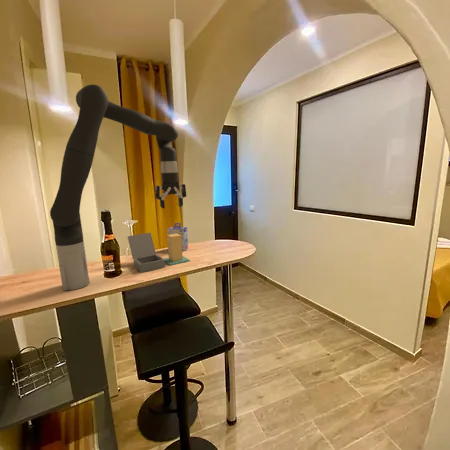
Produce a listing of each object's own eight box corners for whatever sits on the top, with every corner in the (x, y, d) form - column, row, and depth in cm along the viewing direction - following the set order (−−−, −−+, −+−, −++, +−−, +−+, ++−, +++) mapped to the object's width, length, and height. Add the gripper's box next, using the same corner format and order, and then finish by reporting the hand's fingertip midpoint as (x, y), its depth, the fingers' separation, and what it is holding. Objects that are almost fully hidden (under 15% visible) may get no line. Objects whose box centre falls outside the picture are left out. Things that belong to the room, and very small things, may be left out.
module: (172, 261, 128) (171, 237, 126) (168, 259, 132) (167, 235, 130) (182, 259, 131) (181, 235, 128) (178, 257, 135) (176, 233, 133)
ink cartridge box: (188, 248, 152) (187, 222, 149) (185, 251, 147) (183, 224, 144) (172, 247, 154) (170, 222, 151) (168, 250, 149) (166, 224, 146)
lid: (127, 235, 129) (127, 237, 130) (133, 258, 126) (132, 259, 127) (150, 232, 135) (149, 233, 136) (156, 253, 132) (155, 254, 133)
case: (141, 272, 117) (140, 264, 117) (134, 265, 126) (133, 258, 126) (165, 267, 123) (164, 259, 122) (157, 260, 132) (156, 253, 132)
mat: (170, 265, 125) (170, 264, 125) (162, 260, 133) (162, 258, 133) (189, 261, 130) (189, 259, 130) (181, 256, 138) (181, 254, 138)
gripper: (157, 172, 117) (160, 209, 120) (187, 171, 124) (189, 206, 127) (151, 172, 123) (154, 208, 126) (180, 171, 130) (182, 205, 133)
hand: (172, 207), depth 127 cm, fingers open, 8 cm apart
